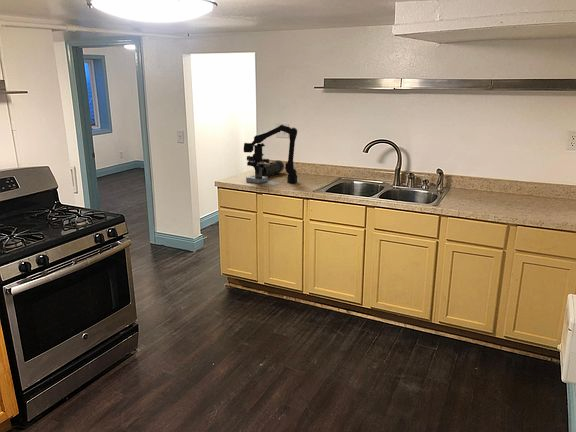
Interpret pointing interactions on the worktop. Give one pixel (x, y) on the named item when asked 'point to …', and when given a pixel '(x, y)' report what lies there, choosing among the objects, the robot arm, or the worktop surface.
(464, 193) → the worktop surface
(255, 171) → the plug
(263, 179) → the outlet block
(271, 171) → the muzzle brake
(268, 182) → the mat
